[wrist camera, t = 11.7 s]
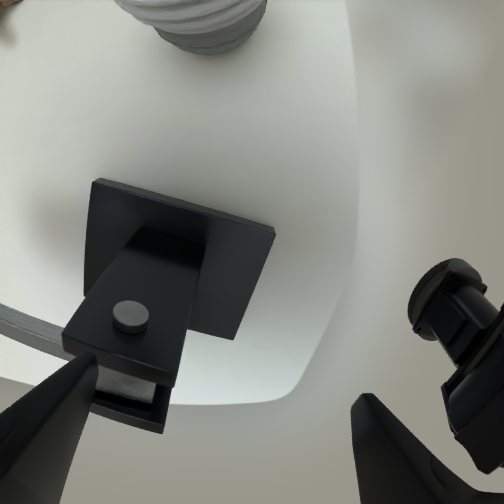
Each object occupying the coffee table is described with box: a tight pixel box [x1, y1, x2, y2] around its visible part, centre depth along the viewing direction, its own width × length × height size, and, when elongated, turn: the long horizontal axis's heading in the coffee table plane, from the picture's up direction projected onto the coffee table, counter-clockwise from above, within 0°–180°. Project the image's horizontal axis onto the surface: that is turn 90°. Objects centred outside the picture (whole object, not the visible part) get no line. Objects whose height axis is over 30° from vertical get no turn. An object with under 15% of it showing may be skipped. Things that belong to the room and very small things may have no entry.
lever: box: [0, 303, 156, 404], centre depth 10 cm, size 13×4×4 cm, turn 71°
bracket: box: [61, 178, 276, 434], centre depth 15 cm, size 12×9×11 cm
